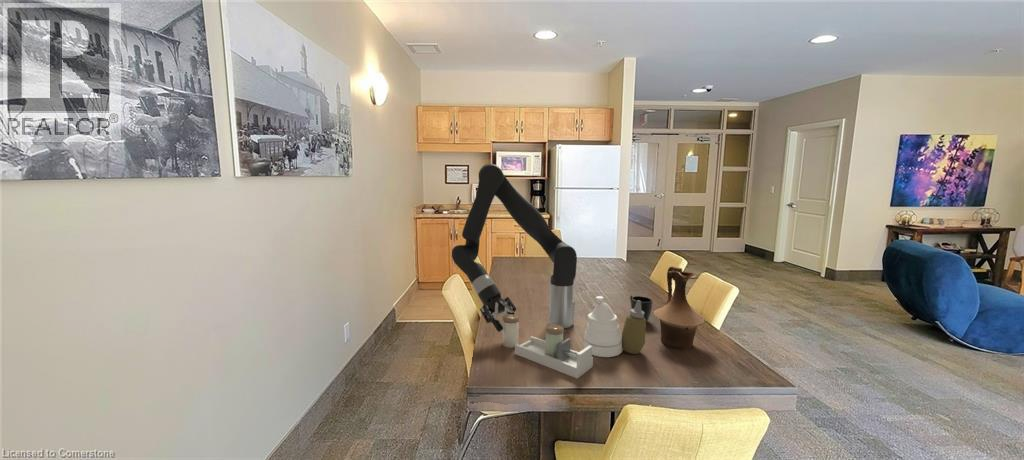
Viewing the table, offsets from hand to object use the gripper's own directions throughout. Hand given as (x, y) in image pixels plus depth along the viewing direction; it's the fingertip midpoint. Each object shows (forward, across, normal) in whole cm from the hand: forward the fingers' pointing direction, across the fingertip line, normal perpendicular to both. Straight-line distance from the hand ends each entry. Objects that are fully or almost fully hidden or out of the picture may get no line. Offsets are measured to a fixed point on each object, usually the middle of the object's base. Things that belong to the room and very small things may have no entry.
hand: (509, 327), depth 135 cm
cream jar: (+5, 0, +4) cm, 6 cm away
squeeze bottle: (+29, +24, -21) cm, 43 cm away
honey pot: (+24, +18, -15) cm, 34 cm away
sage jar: (+17, 0, -10) cm, 20 cm away
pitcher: (+36, +42, -28) cm, 62 cm away
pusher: (+21, 0, -14) cm, 25 cm away
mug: (+23, +55, -14) cm, 61 cm away
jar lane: (+18, 0, -9) cm, 20 cm away
